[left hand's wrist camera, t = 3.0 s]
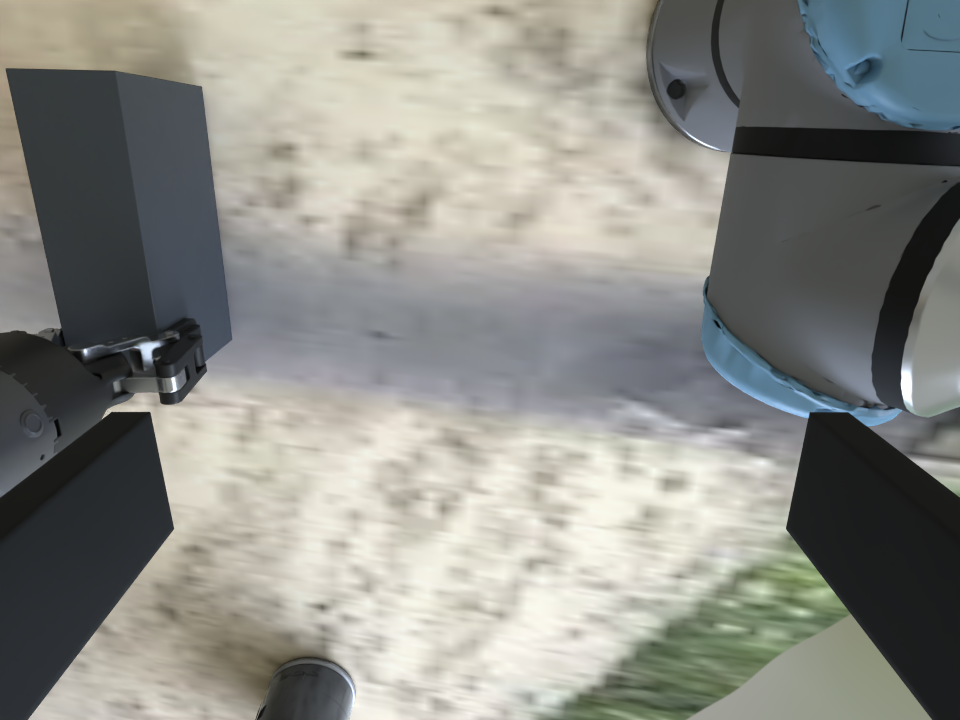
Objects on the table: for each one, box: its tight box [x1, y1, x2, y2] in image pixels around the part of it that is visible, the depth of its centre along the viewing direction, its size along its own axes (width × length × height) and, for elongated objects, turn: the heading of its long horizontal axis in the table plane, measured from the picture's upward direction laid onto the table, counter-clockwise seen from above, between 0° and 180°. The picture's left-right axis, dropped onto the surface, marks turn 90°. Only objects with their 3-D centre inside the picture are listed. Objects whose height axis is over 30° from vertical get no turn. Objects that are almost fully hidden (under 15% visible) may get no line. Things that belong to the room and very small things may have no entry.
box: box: [6, 68, 232, 368], centre depth 44 cm, size 20×6×12 cm, turn 179°
